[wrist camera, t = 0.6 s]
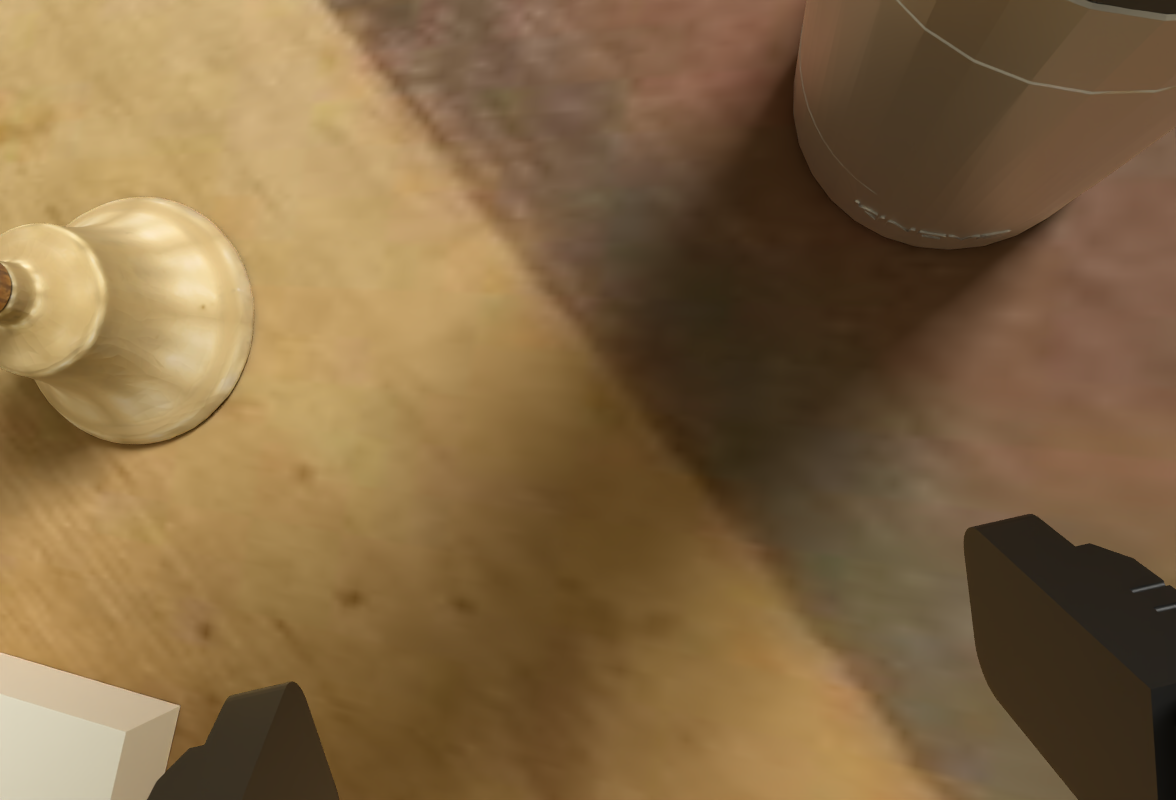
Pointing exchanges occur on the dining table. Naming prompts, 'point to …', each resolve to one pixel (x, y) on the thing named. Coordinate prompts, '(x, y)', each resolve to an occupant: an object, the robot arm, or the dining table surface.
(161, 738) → the stone slab
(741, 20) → the dining table surface
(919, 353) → the dining table surface
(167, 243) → the hand bell
